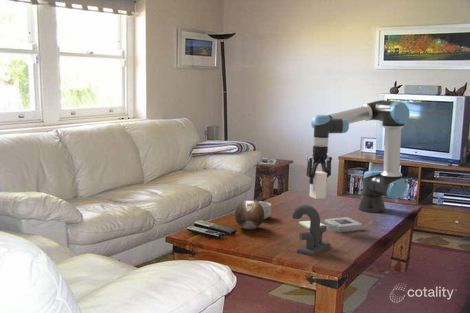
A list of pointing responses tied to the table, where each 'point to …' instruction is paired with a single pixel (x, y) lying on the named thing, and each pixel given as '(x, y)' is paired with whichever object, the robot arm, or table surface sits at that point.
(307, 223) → the pad
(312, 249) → the faucet
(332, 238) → the table surface
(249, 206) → the bronze metal ball
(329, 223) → the socket plate
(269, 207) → the teacup
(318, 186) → the peg
